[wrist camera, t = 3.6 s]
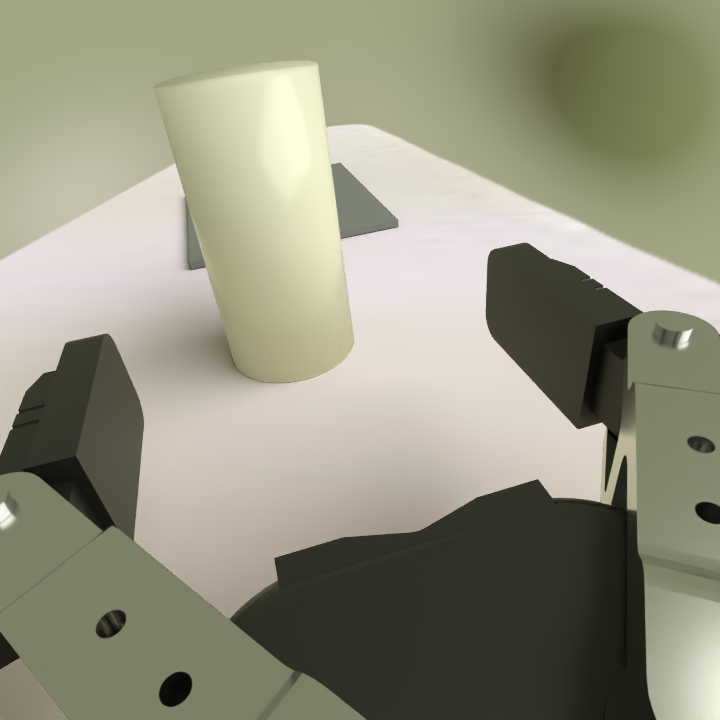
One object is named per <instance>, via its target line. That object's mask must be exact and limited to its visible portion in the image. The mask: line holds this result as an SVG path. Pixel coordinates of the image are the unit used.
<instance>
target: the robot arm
mask: <svg viewBox="0 0 720 720" xmlns="http://www.w3.org/2000/svg"><path fill="white" fill-rule="evenodd" d="M486 320H487V325H488V328H489V331H490V333H491V335H492V337H493V338H494V340H495V341H496V342H497V343H498V344H499V345H500V346H501V347H502V348H503V349H504V350H505V352H506V353H507V354H508V355H509V356H510V357H511V358H512V359H513V360H514V361H515V362H516V363H517V364H518V366H519V367H520V368H521V369H522V370H523V371H524V372H525V373H526V374H527V375H528V376H529V377H530V378H531V380H532V381H533V382H534V383H535V384H536V385H537V386H538V387H539V388H540V389H541V390H542V391H543V392H544V393H545V395H546V396H547V397H548V398H549V399H550V400H551V401H552V402H553V403H554V404H555V405H556V406H557V407H558V409H559V410H560V411H561V412H562V413H563V414H564V415H565V416H566V417H567V418H568V419H569V420H570V421H571V423H572V424H573V425H574V426H575V427H576V428H577V429H581V428H584V427H588V426H591V425H595V424H598V423H603V424H604V425H605V426H606V431H605V436H604V441H603V459H602V478H601V497H600V502H595V501H590V500H583V499H574V498H552V497H551V496H550V495H549V493H548V492H547V491H546V489H545V488H544V487H543V485H542V484H541V483H540V481H539V480H538V479H537V480H534V481H531V482H527V483H524V484H521V485H517V486H514V487H510V488H507V489H504V490H500V491H497V492H494V493H490V494H487V495H484V496H480V497H477V498H475V499H474V500H472V501H470V502H469V503H467V504H465V505H464V506H462V507H460V508H458V509H457V510H455V511H453V512H452V513H450V514H448V515H447V516H445V517H443V518H441V519H440V520H438V521H436V522H435V523H433V524H431V525H429V526H428V527H426V528H424V529H422V530H420V531H417V532H411V533H398V534H384V535H371V536H357V537H343V538H340V539H337V540H333V541H330V542H327V543H323V544H320V545H316V546H313V547H310V548H306V549H303V550H300V551H296V552H293V553H290V554H286V555H283V556H280V557H276V558H274V559H275V565H276V571H277V577H278V581H276V582H275V583H273V584H271V585H269V586H268V587H266V588H265V589H263V590H262V591H261V592H259V593H258V594H256V595H255V596H254V597H252V598H251V599H250V600H249V601H248V602H247V603H245V604H244V605H243V606H242V607H241V608H240V609H239V610H238V611H237V612H236V613H235V614H234V615H233V616H232V617H231V618H230V619H228V618H226V617H225V616H224V615H223V614H222V613H220V612H219V611H218V610H217V609H215V608H214V607H213V606H212V605H211V604H209V603H208V602H207V601H206V600H204V599H203V598H202V597H201V596H200V595H198V594H197V593H196V592H195V591H194V590H192V589H191V588H190V587H189V586H187V585H186V584H185V583H184V582H183V581H181V580H180V579H179V578H178V577H176V576H175V575H174V574H173V573H172V572H170V571H169V570H168V569H167V568H165V567H164V566H163V565H162V564H161V563H159V562H158V561H157V560H156V559H155V558H153V557H152V556H151V555H150V554H148V553H147V552H146V551H145V550H144V549H142V548H141V547H140V546H139V545H137V544H136V543H135V542H134V530H135V518H136V507H137V496H138V485H139V474H140V462H141V451H142V440H143V429H144V419H143V412H142V408H141V404H140V400H139V398H138V395H137V393H136V390H135V388H134V386H133V383H132V381H131V379H130V377H129V374H128V372H127V370H126V367H125V365H124V363H123V361H122V358H121V356H120V354H119V351H118V349H117V347H116V345H115V343H114V341H113V339H112V338H111V336H110V335H109V334H102V335H98V336H93V337H89V338H84V339H79V340H75V341H70V342H67V343H66V344H65V346H64V349H63V352H62V354H61V357H60V360H59V363H58V366H57V369H56V371H52V372H47V373H44V374H43V375H42V376H41V377H40V378H39V379H38V380H37V381H36V382H35V383H34V384H33V385H32V386H31V387H30V388H29V389H28V390H27V391H26V393H25V395H24V398H23V400H22V403H21V405H20V408H19V410H18V411H19V414H17V415H16V418H15V420H14V423H13V425H12V427H13V430H10V433H9V435H8V438H7V440H6V443H5V445H4V448H3V450H2V453H1V455H0V669H1V668H3V667H5V666H6V665H8V664H10V663H11V662H13V661H15V660H17V659H18V658H21V659H22V660H23V661H24V663H25V664H26V665H27V667H28V668H29V669H30V671H31V672H32V673H33V674H34V676H35V677H36V678H37V680H38V681H39V682H40V683H41V685H42V686H43V687H44V689H45V690H46V691H47V692H48V694H49V695H50V696H51V698H52V699H53V700H54V701H55V703H56V704H57V705H58V707H59V708H60V709H61V710H62V712H63V713H64V714H65V716H66V717H67V718H68V719H69V720H720V334H719V333H718V332H717V330H716V329H715V328H714V327H713V326H712V325H711V324H709V323H708V322H706V321H704V320H702V319H700V318H698V317H695V316H692V315H689V314H686V313H681V312H675V311H649V312H645V313H643V312H642V311H640V310H639V309H637V308H636V307H634V306H633V305H631V304H630V303H628V302H627V301H625V300H624V299H622V298H621V297H619V296H618V295H616V294H615V293H613V292H612V291H610V290H609V289H607V288H603V285H602V284H600V283H599V282H597V281H596V280H594V279H590V276H588V275H587V274H585V273H584V272H582V271H581V270H579V269H578V268H576V267H575V266H572V265H569V264H566V263H563V262H560V261H557V260H554V259H550V258H549V257H547V256H546V255H544V254H543V253H541V252H540V251H539V250H537V249H536V248H534V247H533V246H531V245H530V244H528V243H521V244H516V245H512V246H507V247H502V248H498V249H494V250H492V251H491V252H490V254H489V257H488V265H487V293H486Z"/></svg>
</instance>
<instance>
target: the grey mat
mask: <svg viewBox="0 0 720 720" xmlns="http://www.w3.org/2000/svg"><path fill="white" fill-rule="evenodd" d="M331 169H332V176H333V184H334V191H335V199H336V206H337V214H338V222H339V229H340V237H341V238H345V237H350V236H355V235H359V234H364V233H369V232H374V231H379V230H383V229H388V228H393V227H398V219H397V218H396V217H395V216H394V215H393V214H392V213H391V212H390V211H389V210H388V209H387V208H386V207H385V206H383V205H382V204H381V203H380V202H379V201H378V200H377V199H376V198H375V197H374V196H373V195H372V194H371V193H370V192H369V191H368V190H367V189H366V188H365V187H364V186H363V185H362V184H361V183H360V182H359V181H358V180H357V179H356V178H355V177H354V176H353V175H352V174H351V173H350V172H349V171H348V170H347V169H346V168H345V167H344V166H343V165H342V164H341V163H337V164H331ZM187 213H188V240H189V263H190V266H191V269H196V268H200V267H205V266H206V265H205V262H204V258H203V255H202V251H201V248H200V245H199V241H198V238H197V234H196V231H195V228H194V224H193V221H192V217H191V214H190V210H189V207H188V204H187Z"/></svg>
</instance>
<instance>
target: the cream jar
mask: <svg viewBox="0 0 720 720" xmlns="http://www.w3.org/2000/svg"><path fill="white" fill-rule="evenodd" d="M154 91H155V94H156V98H157V101H158V105H159V108H160V111H161V115H162V118H163V122H164V125H165V129H166V132H167V135H168V139H169V142H170V146H171V149H172V152H173V156H174V159H175V163H176V166H177V170H178V173H179V176H180V180H181V183H182V187H183V190H184V193H185V197H186V200H187V204H188V207H189V210H190V214H191V217H192V221H193V224H194V228H195V231H196V234H197V238H198V241H199V245H200V248H201V251H202V255H203V258H204V262H205V265H206V269H207V272H208V275H209V279H210V282H211V286H212V289H213V292H214V296H215V299H216V303H217V306H218V310H219V313H220V316H221V320H222V323H223V327H224V330H225V333H226V337H227V340H228V344H229V347H230V351H231V354H232V357H233V361H234V364H235V366H236V368H237V369H238V370H239V371H240V372H241V373H242V374H244V375H245V376H247V377H249V378H252V379H255V380H258V381H263V382H270V383H287V382H295V381H300V380H305V379H309V378H312V377H315V376H318V375H320V374H323V373H325V372H327V371H329V370H331V369H332V368H334V367H335V366H337V365H338V364H340V363H341V362H342V361H343V360H344V359H345V358H346V357H347V356H348V355H349V353H350V352H351V350H352V347H353V345H354V335H353V327H352V320H351V312H350V305H349V297H348V290H347V282H346V274H345V267H344V259H343V252H342V244H341V237H340V229H339V222H338V214H337V206H336V199H335V191H334V184H333V176H332V169H331V161H330V153H329V146H328V138H327V131H326V123H325V116H324V108H323V101H322V93H321V85H320V78H319V71H318V64H317V63H316V62H312V61H278V62H268V63H256V64H248V65H240V66H233V67H227V68H220V69H214V70H209V71H204V72H198V73H193V74H189V75H185V76H181V77H176V78H173V79H169V80H166V81H163V82H161V83H158V84H156V85H155V86H154Z"/></svg>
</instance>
